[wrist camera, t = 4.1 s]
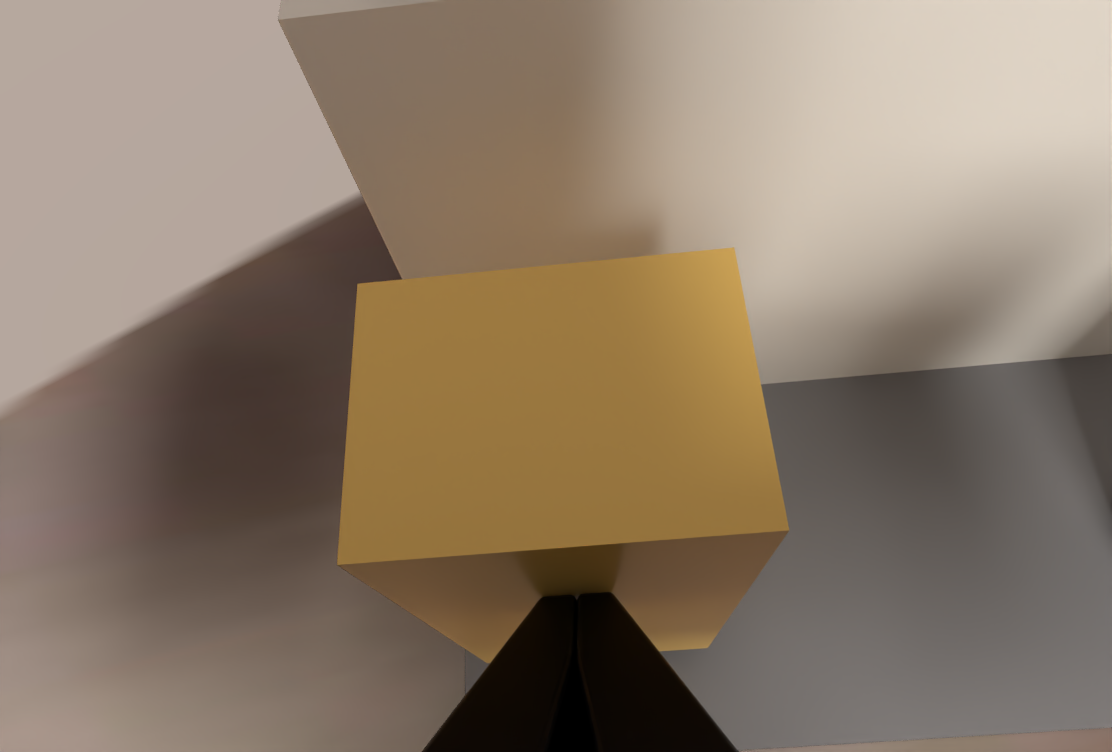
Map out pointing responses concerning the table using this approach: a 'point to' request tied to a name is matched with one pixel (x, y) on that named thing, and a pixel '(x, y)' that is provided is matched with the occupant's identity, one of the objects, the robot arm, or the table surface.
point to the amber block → (560, 446)
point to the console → (813, 302)
